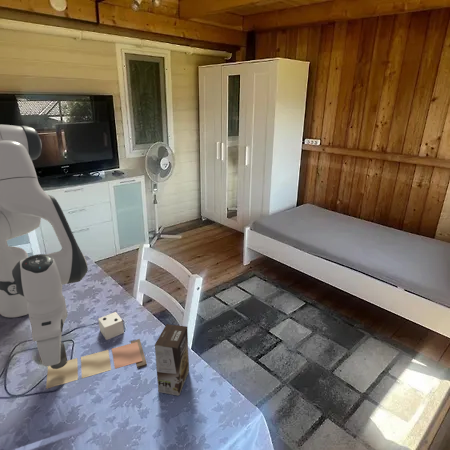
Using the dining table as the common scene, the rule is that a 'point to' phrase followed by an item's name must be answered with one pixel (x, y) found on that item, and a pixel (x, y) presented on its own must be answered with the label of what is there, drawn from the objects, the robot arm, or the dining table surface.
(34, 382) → the dining table surface
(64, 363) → the pawn
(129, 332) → the dining table surface
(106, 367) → the game board
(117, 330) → the die
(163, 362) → the coffee box
